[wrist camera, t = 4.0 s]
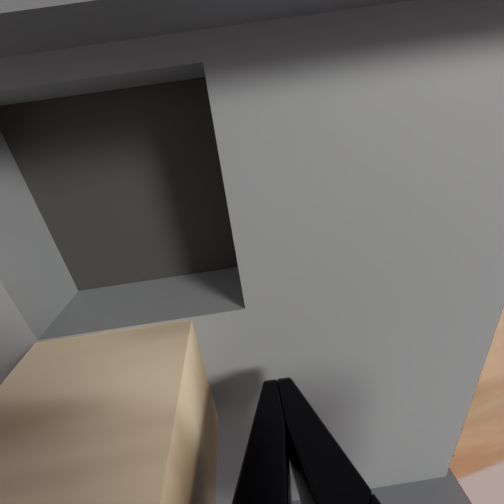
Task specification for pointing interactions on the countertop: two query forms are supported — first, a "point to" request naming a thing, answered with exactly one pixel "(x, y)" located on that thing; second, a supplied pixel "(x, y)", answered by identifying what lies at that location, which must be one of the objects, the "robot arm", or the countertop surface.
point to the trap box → (267, 205)
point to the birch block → (110, 421)
